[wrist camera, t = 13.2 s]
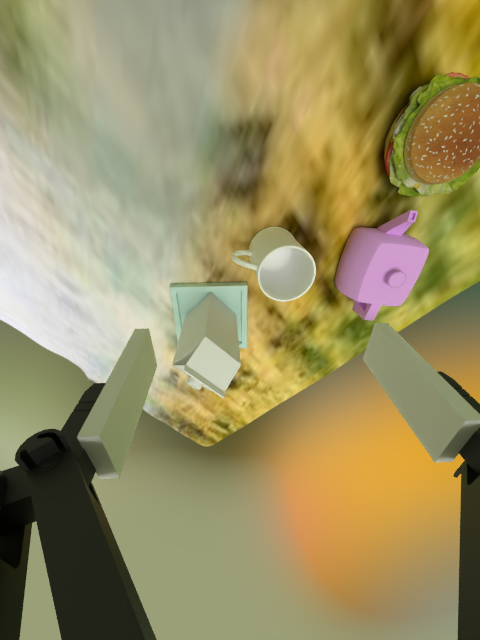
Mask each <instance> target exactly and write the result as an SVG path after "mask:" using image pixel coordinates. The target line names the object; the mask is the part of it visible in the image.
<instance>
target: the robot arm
mask: <svg viewBox="0 0 480 640" xmlns="http://www.w3.org/2000/svg"><path fill="white" fill-rule="evenodd" d="M363 360H364V362H365V363H366V365H367V366H368V367H369V369H370V370H371V372H372V373H373V374H374V376H375V377H376V379H377V380H378V382H379V383H380V384H381V386H382V387H383V389H384V390H385V392H386V393H387V395H388V396H389V397H390V399H391V400H392V402H393V403H394V405H395V406H396V407H397V409H398V410H399V412H400V413H401V414H402V416H403V418H404V419H405V420H406V422H407V423H408V425H409V426H410V428H411V429H412V430H413V432H414V433H415V435H416V436H417V438H418V439H419V440H420V442H421V443H422V445H423V446H424V447H425V449H426V450H427V452H428V453H429V455H430V456H431V458H432V459H433V461H434V462H452V461H453V460H454V459H455V457H456V456H457V455H458V454H460V455H461V456H462V457H463V459H464V460H465V461H464V462H463V463H462V465H461V466H460V467H459V468H458V469H457V471H456V472H455V473H454V477H458V475H459V474H461V517H460V562H459V563H460V564H459V609H458V640H480V404H479V403H478V402H477V401H476V400H475V399H474V398H473V397H470V395H469V394H468V393H467V392H466V391H465V390H464V389H462V387H461V386H460V385H459V384H458V383H457V382H456V381H455V380H453V379H452V378H451V377H449V376H448V375H446V374H444V373H443V372H437V371H435V369H434V368H433V367H431V366H430V365H429V364H428V363H427V362H426V361H425V360H424V359H423V358H422V357H421V356H420V355H419V354H418V353H417V352H416V351H415V350H414V349H413V348H412V347H411V346H410V345H409V344H408V343H407V342H406V341H405V340H404V339H403V338H402V337H401V336H400V335H399V334H398V333H397V332H396V331H395V330H394V329H393V328H392V327H391V326H390V325H389V324H388V323H375V325H374V328H373V331H372V334H371V337H370V340H369V343H368V346H367V349H366V352H365V355H364V358H363ZM156 367H157V363H156V359H155V354H154V350H153V345H152V341H151V336H150V332H149V329H135V330H134V332H133V334H132V336H131V338H130V339H129V341H128V343H127V345H126V347H125V349H124V350H123V352H122V354H121V356H120V358H119V360H118V362H117V363H116V365H115V367H114V369H113V371H112V373H111V375H110V376H109V378H108V380H107V382H106V383H95V384H93V385H92V386H91V387H90V388H89V389H88V390H86V391H85V393H84V394H83V395H82V397H81V399H80V401H79V403H78V404H77V405H76V407H75V409H74V412H72V414H71V415H70V417H69V419H68V420H67V422H66V424H65V425H64V427H63V428H62V430H61V431H59V430H56V429H47V430H43V431H41V432H38V433H36V434H34V435H33V436H31V437H30V438H28V439H27V440H26V441H25V442H24V443H23V444H22V445H21V446H20V447H19V449H18V451H17V452H16V456H15V461H16V462H17V463H18V464H19V466H17V467H14V468H10V469H7V470H4V471H0V640H19V637H20V628H21V619H22V610H23V600H24V590H25V583H26V573H27V564H28V555H29V546H30V537H31V528H32V523H33V522H35V521H37V526H38V530H39V535H40V540H41V545H42V549H43V554H44V558H45V563H46V568H47V573H48V577H49V582H50V586H51V591H52V596H53V601H54V606H55V610H56V614H57V620H58V624H59V629H60V633H61V638H62V640H156V637H155V635H154V633H153V630H152V628H151V626H150V623H149V620H148V618H147V615H146V613H145V611H144V608H143V606H142V603H141V601H140V599H139V596H138V593H137V591H136V589H135V586H134V584H133V581H132V579H131V577H130V574H129V572H128V569H127V567H126V564H125V562H124V560H123V557H122V555H121V552H120V550H119V547H118V545H117V542H116V540H115V538H114V535H113V533H112V530H111V528H110V526H109V523H108V521H107V518H106V516H105V513H104V511H103V509H102V506H101V503H100V501H99V499H98V496H97V494H96V491H95V489H94V486H93V484H92V483H91V481H92V479H93V477H94V474H95V472H96V473H97V475H98V476H99V478H100V479H107V478H119V477H120V474H121V471H122V468H123V466H124V462H125V459H126V457H127V454H128V451H129V448H130V445H131V441H132V439H133V435H134V433H135V429H136V427H137V424H138V421H139V418H140V415H141V412H142V409H143V406H144V403H145V400H146V397H147V394H148V391H149V388H150V385H151V382H152V379H153V376H154V373H155V370H156Z"/></svg>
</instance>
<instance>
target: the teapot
mask: <svg viewBox="0 0 480 640" xmlns="http://www.w3.org/2000/svg"><path fill="white" fill-rule="evenodd" d="M417 214H418V211H412V210H409V211H408V212H406V213H404V214H402V215H400V216H398V217H396V218H394V219H393V220H391V221H389V222H387V223H385V224H383V225H381V226H379V227H378V229H376V228H365V227H359V228H355V229H354V230H353V231H352V232H351V234H350V236H349V238H348V240H347V243H346V245H345V247H344V250H343V252H342V255H341V258H340V261H339V264H338V268H337V272H336V277H335V285H336V288H337V289H338V290H339V291H340V292H341V293H343V294H344V295H346V296H347V297H349V298H351V299H353V300H354V301H353V309H352V310H353V311H355V312H356V313H357V314H358V315H359V316H361V317H362V318H363V319H364V320H373V321H374V319H375V317H376V315H377V313H378V311H379V309H380V308H381V306H382V305H387V306H400V305H402V304H403V302H404V301H405V299H406V298H407V296H408V295H409V293H410V291H411V290H412V288H413V286H414V284H415V282H416V281H417V279H418V277H419V275H420V272H421V270H422V268H423V266H424V264H425V261H426V259H427V256H428V253H429V248H428V247H426V246H425V245H424V244H423V243H421V242H420V241H419V240H417V239H415V238H413V237H411V236H409V235H407V234H404V232H405V231H406V230H407V229H408V228H409V227H410V226H411V225H412V223H413V222H415V220H416V217H417ZM367 303H368V304H367Z"/></svg>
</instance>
